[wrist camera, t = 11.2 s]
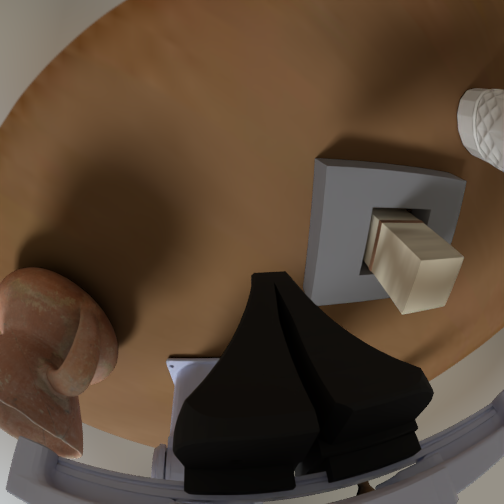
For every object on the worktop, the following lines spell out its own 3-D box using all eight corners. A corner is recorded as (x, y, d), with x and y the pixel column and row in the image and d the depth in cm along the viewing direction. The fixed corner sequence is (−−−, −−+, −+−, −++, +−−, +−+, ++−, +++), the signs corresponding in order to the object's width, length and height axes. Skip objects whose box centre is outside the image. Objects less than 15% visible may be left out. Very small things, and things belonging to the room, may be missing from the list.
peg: (395, 250, 23) (444, 306, 16) (356, 252, 22) (401, 315, 15) (405, 208, 21) (464, 256, 14) (364, 207, 20) (421, 259, 13)
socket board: (421, 276, 25) (433, 291, 22) (303, 287, 24) (310, 306, 21) (448, 172, 19) (466, 181, 17) (315, 158, 18) (326, 165, 16)
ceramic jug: (65, 367, 28) (37, 457, 16) (-9, 286, 21) (-66, 373, 9) (169, 336, 26) (155, 472, 14) (78, 215, 19) (-27, 345, 7)
